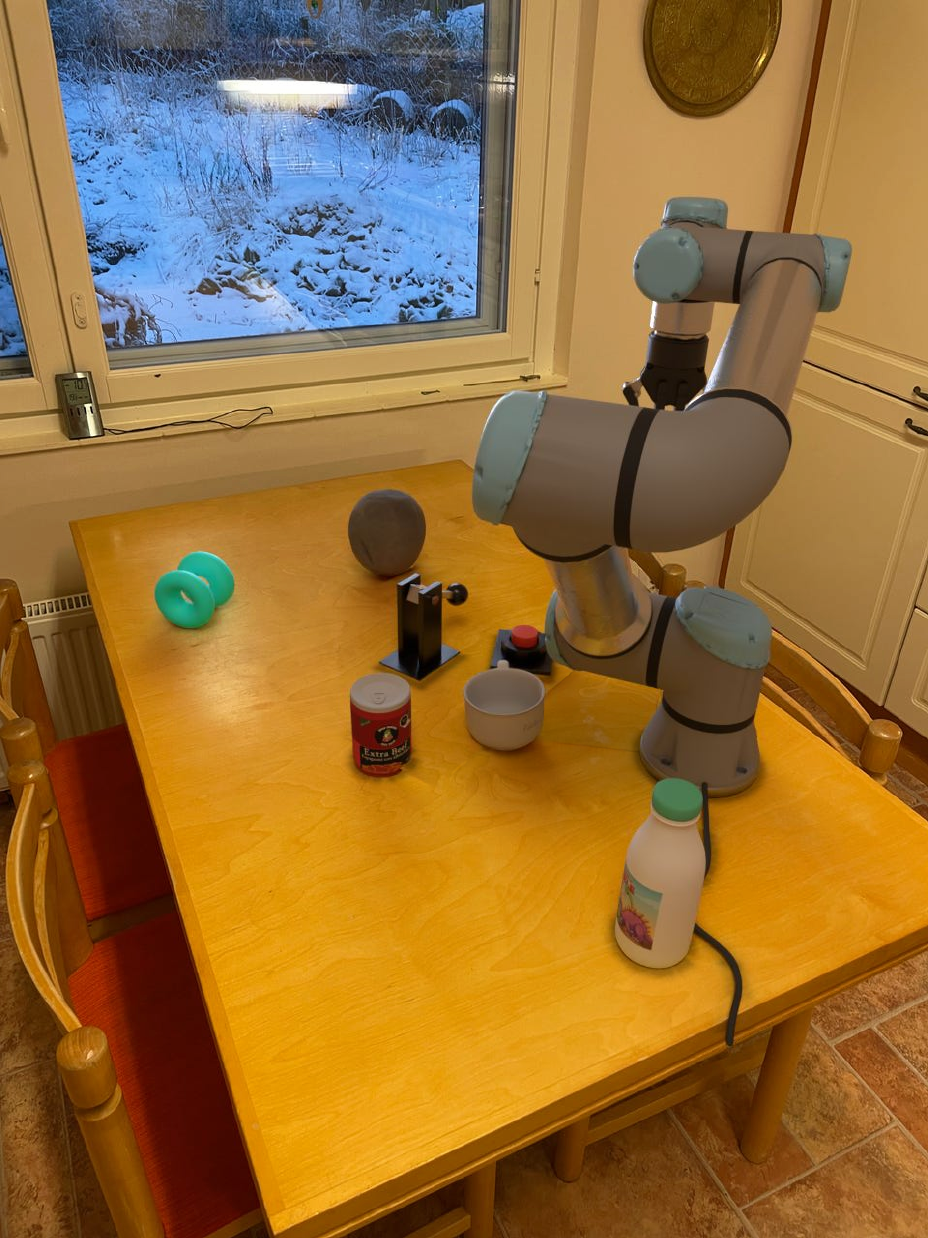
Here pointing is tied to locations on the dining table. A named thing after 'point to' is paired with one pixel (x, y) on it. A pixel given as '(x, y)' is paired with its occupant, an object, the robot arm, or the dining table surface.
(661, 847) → the milk bottle
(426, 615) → the black lever stand
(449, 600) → the lever
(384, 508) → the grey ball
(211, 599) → the teal spool
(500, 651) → the black button base
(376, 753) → the canned food
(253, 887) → the dining table surface
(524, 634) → the button
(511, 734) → the teacup
